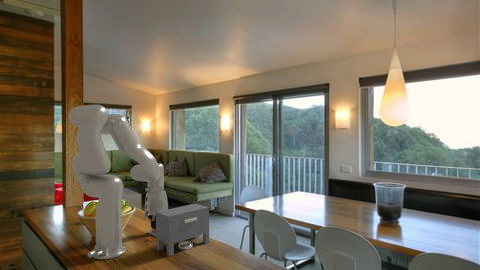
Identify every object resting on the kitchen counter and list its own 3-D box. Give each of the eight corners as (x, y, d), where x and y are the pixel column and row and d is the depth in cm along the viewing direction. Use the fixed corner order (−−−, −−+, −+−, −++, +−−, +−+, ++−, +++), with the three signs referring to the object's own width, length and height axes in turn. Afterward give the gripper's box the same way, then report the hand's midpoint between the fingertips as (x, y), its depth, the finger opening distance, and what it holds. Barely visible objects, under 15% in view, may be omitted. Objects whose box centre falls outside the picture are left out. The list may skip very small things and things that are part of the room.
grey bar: (173, 244, 129) (173, 224, 129) (147, 232, 145) (147, 214, 145) (183, 241, 132) (183, 222, 132) (156, 229, 148) (156, 212, 148)
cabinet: (170, 256, 116) (169, 217, 116) (156, 249, 124) (155, 212, 124) (210, 242, 131) (210, 207, 130) (195, 237, 138) (195, 203, 138)
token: (189, 250, 123) (189, 247, 123) (176, 249, 124) (175, 246, 124) (195, 245, 129) (195, 242, 129) (182, 244, 130) (182, 240, 130)
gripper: (144, 192, 135) (144, 233, 135) (174, 187, 147) (175, 225, 147) (136, 190, 140) (136, 229, 140) (166, 186, 152) (166, 222, 152)
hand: (156, 227), depth 144 cm, fingers closed on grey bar, 2 cm apart
